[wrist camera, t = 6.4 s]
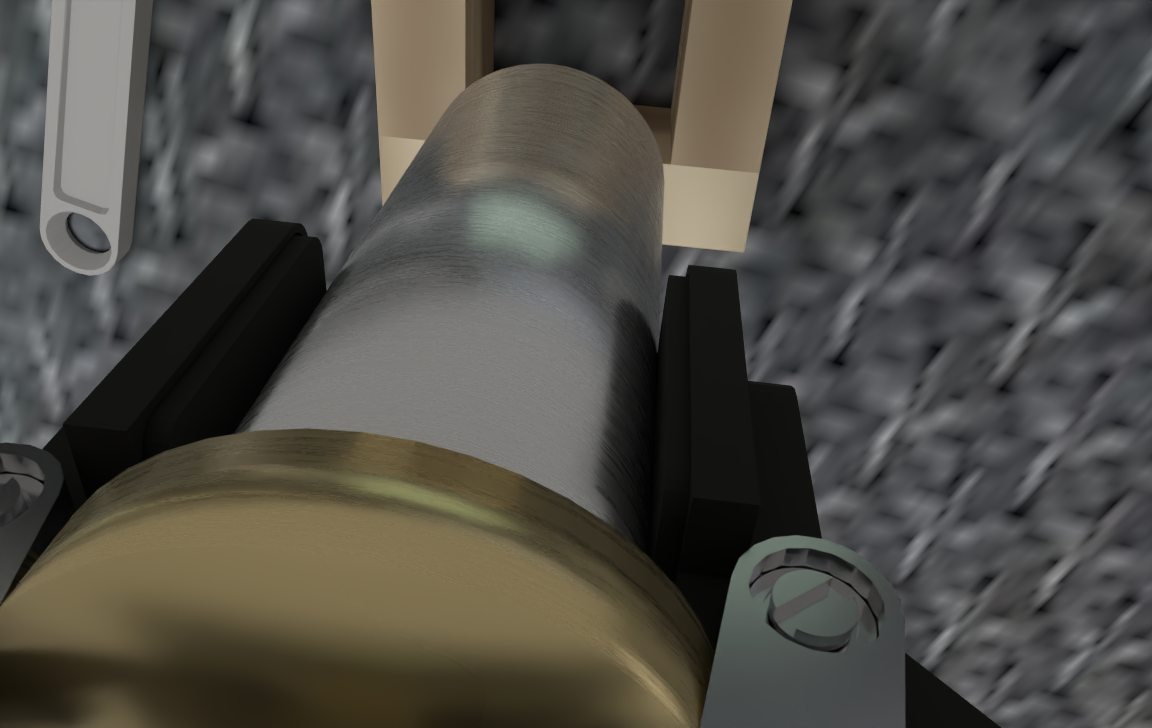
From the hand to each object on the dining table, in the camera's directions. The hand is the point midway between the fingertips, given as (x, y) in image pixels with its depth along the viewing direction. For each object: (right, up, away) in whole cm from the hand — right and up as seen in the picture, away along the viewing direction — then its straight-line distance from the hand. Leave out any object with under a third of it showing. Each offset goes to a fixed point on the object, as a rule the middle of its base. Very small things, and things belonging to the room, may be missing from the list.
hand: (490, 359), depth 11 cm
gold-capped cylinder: (+1, +3, +4) cm, 5 cm away
